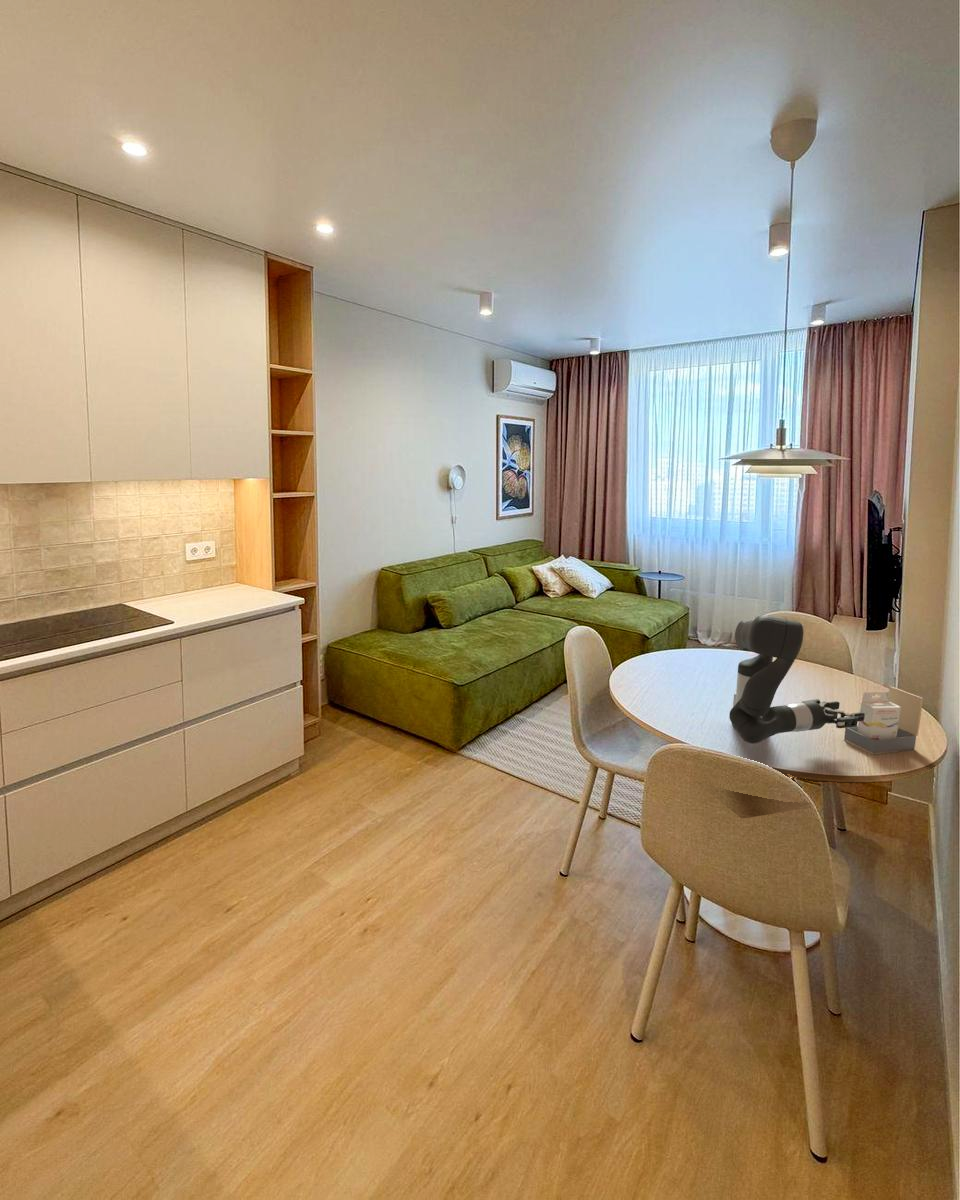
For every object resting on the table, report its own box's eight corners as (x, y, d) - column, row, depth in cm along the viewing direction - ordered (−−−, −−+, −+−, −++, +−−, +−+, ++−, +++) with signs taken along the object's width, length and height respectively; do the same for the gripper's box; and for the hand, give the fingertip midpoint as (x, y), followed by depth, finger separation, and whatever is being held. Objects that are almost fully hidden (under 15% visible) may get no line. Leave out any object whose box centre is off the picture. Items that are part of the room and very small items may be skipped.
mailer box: (844, 740, 180) (849, 690, 177) (885, 735, 184) (891, 686, 181) (873, 755, 171) (880, 702, 168) (916, 749, 174) (923, 697, 171)
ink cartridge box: (867, 748, 174) (874, 697, 171) (855, 740, 179) (861, 691, 176) (896, 746, 175) (903, 696, 172) (883, 739, 180) (889, 690, 177)
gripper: (822, 713, 161) (874, 707, 165) (783, 694, 174) (831, 689, 178) (819, 740, 162) (870, 733, 166) (781, 719, 176) (829, 713, 180)
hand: (850, 710), depth 172 cm, fingers open, 8 cm apart
